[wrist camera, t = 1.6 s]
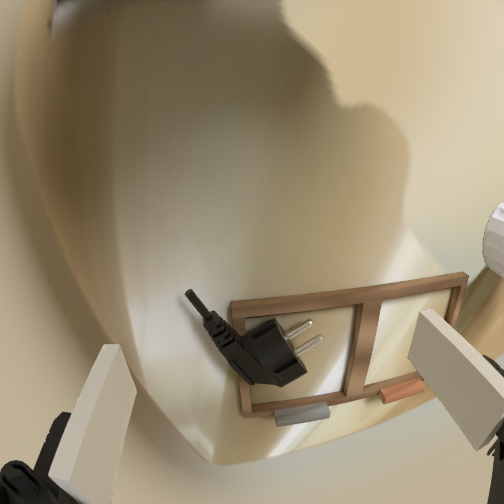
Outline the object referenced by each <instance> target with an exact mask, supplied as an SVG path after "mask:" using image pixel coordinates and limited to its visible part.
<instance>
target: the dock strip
mask: <svg viewBox="0 0 504 504" xmlns="http://www.w3.org/2000/svg"><path fill="white" fill-rule="evenodd" d="M468 278H469V275H467V274H466V273H464V272H457V273H451V274H446V275H440V276H434V277H428V278H422V279H415V280H409V281H402V282H396V283H389V284H382V285H375V286H368V287H360V288H353V289H345V290H337V291H328V292H320V293H311V294H302V295H293V296H283V297H273V298H263V299H252V300H241V301H231V308H232V318H233V328H234V330H235V331H236V332H237V333H238V334H239V335H240V336H245V335H246V334H245V321H244V317H252V316H263V315H273V314H282V313H291V312H300V311H308V310H316V309H324V308H332V307H339V306H346V305H353V304H358V306H357V314H356V321H355V328H354V334H353V340H352V346H351V352H350V358H349V363H348V369H347V374H346V379H345V384H344V389H343V391H339V392H334V393H329V394H323V395H318V396H312V397H306V398H300V399H294V400H287V401H279V402H271V403H263V404H253V405H251V397H250V385H249V384H247V383H246V382H245V381H244V379H243V378H242V377H241V376H240V375H239V374H238V376H239V385H240V393H241V402H242V411H243V418H253V417H262V416H271V415H274V416H275V421H276V426H277V427H279V426H286V425H293V424H299V423H305V422H311V421H316V420H321V419H326V418H329V416H330V411H329V408H328V406H332V405H337V404H342V403H346V402H351V401H355V400H359V399H363V398H367V397H371V396H375V395H379V397H380V398H381V400H382V402H383V404H387V403H390V402H394V401H397V400H400V399H403V398H406V397H409V396H412V395H415V394H418V393H421V392H423V391H424V389H425V387H426V386H425V385H424V383H423V382H422V381H424V379H423V377H422V376H421V375H420V374H419V372H418V371H416V372H413V373H410V374H407V375H403V376H400V377H396V378H393V379H389V380H385V381H382V382H378V383H374V384H370V385H366V386H364V383H365V379H366V376H367V372H368V367H369V363H370V359H371V355H372V350H373V345H374V341H375V336H376V331H377V326H378V320H379V315H380V309H381V303H382V300H385V299H391V298H397V297H403V296H408V295H414V294H419V293H424V292H430V291H435V290H440V289H445V288H450V287H454V289H453V293H452V297H451V301H450V305H449V308H448V312H447V316H446V319H445V321H446V322H447V323H448V324H449V325H450V326H451V327H452V328H453V329H454V328H455V325H456V322H457V319H458V316H459V312H460V309H461V305H462V302H463V298H464V294H465V290H466V286H467V282H468Z"/></svg>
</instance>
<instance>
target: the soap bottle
mask: <svg viewBox="0 0 504 504" xmlns="http://www.w3.org/2000/svg"><path fill="white" fill-rule="evenodd" d="M483 257H484V261H485V263H486V265H487V266H488V267H489V268H490V270H492V271H494V272H495V273H497V274H498V275H500V276H502V277H503V278H504V201H503V202H502V203H501V204H499V205H498V206H497V207H496V208H495V210H494V211H493V213H492V214H491V216H490V218H489V220H488V223H487V226H486V228H485V233H484V238H483Z"/></svg>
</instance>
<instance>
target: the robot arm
mask: <svg viewBox="0 0 504 504" xmlns="http://www.w3.org/2000/svg"><path fill="white" fill-rule="evenodd" d="M407 358H408V359H409V361H410V362H411V363H412V365H413V366H414V367H415V368H416V370H417V371H418V372H419V374H420V375H421V376H422V377H423V379H424V380H425V381H426V383H427V384H428V385H429V387H430V388H431V389H432V391H433V392H434V393H435V395H436V396H437V397H438V399H439V400H440V401H441V403H442V404H443V405H444V407H445V408H446V409H447V411H448V412H449V413H450V415H451V416H452V418H453V419H454V421H455V422H456V423H457V425H458V426H459V428H460V429H461V430H462V432H463V433H464V435H465V436H466V438H467V439H468V440H469V442H470V443H471V445H472V446H473V448H474V449H475V450H476V451H478V450H479V449H481V448H482V447H484V446H485V445H487V444H488V443H489V442H490V441H491V440H492V438H493V437H494V436H495V434H496V435H497V436H498V439H497V440H496V442H495V443H494V444H493V446H492V447H491V448H490V449H489V451H488V453H487V455H490V453H491V452H492V451H493V450H494V449H495V451H494V453H493V454H492V456H494V464H493V472H492V479H491V486H490V492H489V497H488V503H487V504H504V370H503V369H501V368H500V366H499V365H498V364H497V363H496V362H495V361H494V360H492V359H491V358H489V357H487V356H485V355H483V356H482V355H481V354H480V353H479V352H478V351H477V350H476V349H475V348H473V347H472V346H471V345H470V344H469V343H468V342H467V341H466V340H465V339H464V338H463V337H462V336H461V335H460V334H459V333H458V332H457V331H456V330H454V329H453V328H452V327H451V326H450V325H449V324H448V323H447V322H446V321H445V320H444V319H443V318H441V317H440V316H439V315H438V314H437V313H436V312H435V311H434V310H432V309H428V310H424V311H419V315H418V320H417V324H416V328H415V332H414V335H413V339H412V343H411V346H410V350H409V353H408V357H407ZM136 393H137V390H136V387H135V385H134V382H133V380H132V377H131V374H130V372H129V369H128V366H127V364H126V361H125V358H124V355H123V352H122V349H121V346H120V344H104V345H103V347H102V349H101V351H100V353H99V355H98V357H97V359H96V361H95V363H94V365H93V367H92V369H91V372H90V374H89V376H88V378H87V380H86V382H85V385H84V386H83V389H82V391H81V393H80V395H79V398H78V400H77V402H76V405H75V407H74V409H73V411H72V413H68V412H62V413H61V414H60V415H59V416H58V417H57V418H56V419H55V420H54V421H53V424H52V426H51V428H50V430H49V432H50V433H49V434H48V435H47V438H46V442H44V445H43V447H42V450H41V452H40V455H39V457H38V459H37V462H36V465H35V467H34V470H32V469H31V468H30V467H29V466H28V465H27V464H25V463H24V462H22V461H18V460H14V461H10V462H8V463H7V464H5V465H4V466H3V468H2V469H1V472H0V504H112V498H113V493H114V488H115V483H116V478H117V472H118V468H119V463H120V458H121V453H122V450H123V445H124V441H125V437H126V432H127V428H128V424H129V420H130V416H131V412H132V408H133V404H134V401H135V397H136Z"/></svg>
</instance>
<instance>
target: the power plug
mask: <svg viewBox="0 0 504 504" xmlns="http://www.w3.org/2000/svg"><path fill="white" fill-rule="evenodd" d="M185 296H186V297H187V298H188V300H189V301H190V302H191V303H192V305H193V306H194V307H195V308H196V310H197V311H198V312H199V313H200V315H201V316H202V317H203V326H204V328H205V329H206V331H208V334H209V335H210V336H211V338H212V340H213V342H215V345H216V346H217V347H218V349H219V351H220V352H221V353H222V355H223V356H224V357H225V358H226V359H227V361H228V363H229V364H230V366H231V367H232V368H233V369H234V370H235V371H236V372H237V373H238V374H239V375H240V376H241V377H242V378H243V379H244V381H245V382H246V383H247V384H249V385H255V384H254V383H258V384H271V385H276V386H279V387H283V386H285V385H287V384H288V383H290V382H292V381H294V380H295V379H297V378H299V377H300V376H302V375H304V374H306V373H307V369H306V367H305V365H304V364H303V362H302V360H301V358H300V356H301V355H303V354H304V353H306V352H308V351H309V350H311V349H312V348H314V347H316V346H317V345H319V344H320V343H322V342H323V341H324V337H323V336H322V335H321V334H318V335H316V336H315V337H313V338H311V339H310V340H308V341H307V342H305V343H303V344H302V345H300V346H299V347H297V348H294V346H293V344H292V343H291V341H290V340H291V339H293V338H294V337H296V336H297V335H299V334H301V333H302V332H304V331H306V330H307V329H309V328H310V327H312V326H313V321H312V320H311V319H307V320H306V321H304V322H303V323H301V324H299V325H298V326H296V327H295V328H293V329H291V330H290V331H288V332H286V333H285V332H284V330H283V329H282V327H281V326H280V325H279V324H278V322H277V321H276V319H275V318H273V319H271V320H270V321H268V322H266V323H265V324H263V325H261V326H260V327H258V328H256V329H255V330H253V331H251V332H250V333H248V334H246V335H245V336H240V335H239V334H238V333H237V332H236V331H235V330H234V329H233V328H231V326H230V325H229V324H227V322H226V321H225V320H223V319H222V318H221V317H220V316H219V315H218V314H217V313H216V312H215V311H211V312H209V311H208V310H207V308H206V307H205V306H204V304H203V303H202V302H201V301H200V299H199V298H198V297H197V296H196V294H195V293H194V292H193V290H192V289H189V290H187V291H186V292H185Z"/></svg>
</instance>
